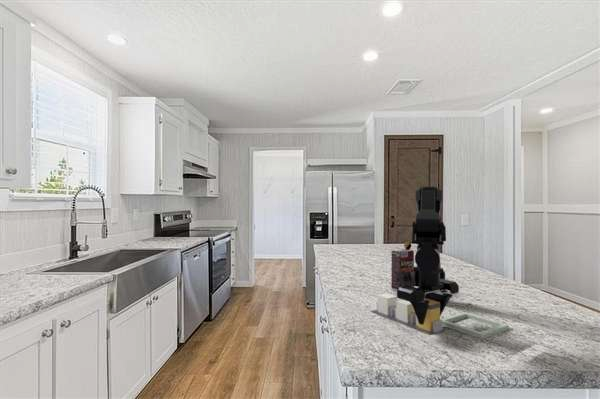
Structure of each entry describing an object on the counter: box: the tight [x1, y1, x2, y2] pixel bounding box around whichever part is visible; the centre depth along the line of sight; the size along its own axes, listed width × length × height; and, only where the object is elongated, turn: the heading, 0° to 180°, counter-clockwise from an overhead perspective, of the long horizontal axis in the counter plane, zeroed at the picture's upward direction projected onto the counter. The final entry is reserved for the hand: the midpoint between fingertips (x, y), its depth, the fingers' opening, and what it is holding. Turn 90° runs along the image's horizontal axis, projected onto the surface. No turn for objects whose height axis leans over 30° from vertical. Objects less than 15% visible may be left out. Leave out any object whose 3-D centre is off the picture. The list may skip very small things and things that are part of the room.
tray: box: [440, 311, 510, 340], centre depth 90 cm, size 12×12×2 cm
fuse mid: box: [396, 299, 415, 323], centre depth 96 cm, size 4×4×5 cm
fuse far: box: [377, 293, 398, 315], centre depth 102 cm, size 4×4×5 cm
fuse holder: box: [370, 301, 450, 336], centre depth 95 cm, size 8×22×4 cm, turn 31°
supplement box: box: [390, 248, 415, 292], centre depth 134 cm, size 9×5×16 cm, turn 123°
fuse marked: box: [418, 299, 441, 332], centre depth 89 cm, size 4×4×7 cm
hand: (428, 322), depth 89 cm, fingers open, 6 cm apart
